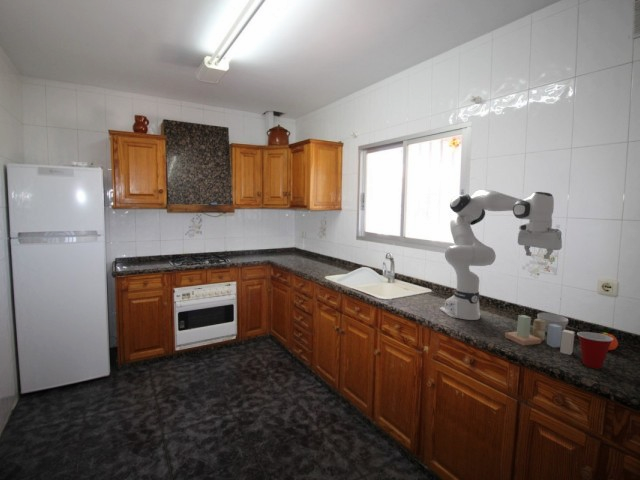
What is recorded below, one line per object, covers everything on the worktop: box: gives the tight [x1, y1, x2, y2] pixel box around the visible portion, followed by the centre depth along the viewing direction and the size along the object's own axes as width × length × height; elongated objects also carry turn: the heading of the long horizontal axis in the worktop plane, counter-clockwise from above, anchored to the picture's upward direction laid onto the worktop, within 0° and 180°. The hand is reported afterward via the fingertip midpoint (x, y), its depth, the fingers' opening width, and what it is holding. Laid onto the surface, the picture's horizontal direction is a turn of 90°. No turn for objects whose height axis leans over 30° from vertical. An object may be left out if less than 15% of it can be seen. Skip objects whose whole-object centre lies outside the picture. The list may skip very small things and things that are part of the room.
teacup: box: [537, 312, 569, 334], centre depth 166 cm, size 15×12×8 cm
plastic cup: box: [576, 331, 613, 370], centre depth 131 cm, size 11×11×12 cm
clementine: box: [598, 332, 619, 351], centre depth 147 cm, size 8×7×7 cm
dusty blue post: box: [546, 324, 562, 348], centre depth 149 cm, size 4×4×9 cm
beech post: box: [531, 318, 546, 342], centre depth 156 cm, size 4×4×9 cm
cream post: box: [559, 328, 575, 356], centre depth 142 cm, size 4×4×9 cm
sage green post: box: [516, 314, 532, 338], centre depth 154 cm, size 4×4×9 cm
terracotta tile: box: [504, 331, 542, 346], centre depth 155 cm, size 10×10×2 cm
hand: (537, 257), depth 159 cm, fingers open, 8 cm apart
